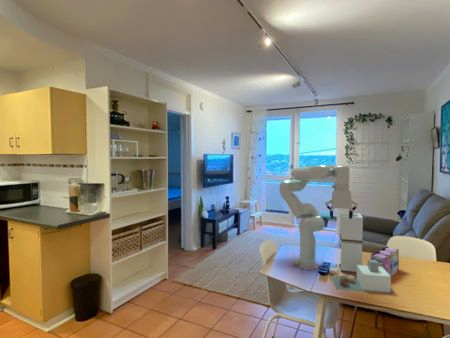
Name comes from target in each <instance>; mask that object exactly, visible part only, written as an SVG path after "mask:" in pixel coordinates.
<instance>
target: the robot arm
mask: <svg viewBox="0 0 450 338" xmlns="http://www.w3.org/2000/svg"><path fill="white" fill-rule="evenodd" d="M290 175H291V176H290V177H292V179H285V180H282V181H281V182H280V184H279V188H278V190H279V194H280V196H281V198H282V199H283V200H284V202H285V203H286V204H287V206H288V208H289V209H290V210H291V213H292V214H293V216H294V217H295V218H296V219H299V223H298V230H299V258H292V263H294V264H297V267H298V268H299V269H301V270H315V269H318V267H319V266H318V264H317V263H316V243H317V242H316V236H315V235H314V233H315V232H320V231H323V230H324V228H325V224H326V223H325V221H324V218H323V217H322V215H321V214H320V212H319V211H318V210H317V208H316V207H315V205H314V204H312V203H310V202H305V203H303V202H302V201H301V200H300V198H299V197H298V196H297V195H296V194H294V193H296V192H301V191H303V190H304V189H305V187H306V186H307V185H308V184H309V182H310V181H312V180H315V179H328V178H329V179H331V178H332V179H333V178H334V184H333V185H331V188H332V189H333V190H332V193H331V199H329V200H328V201H326V202H324V204H325V207H326V208H327V209H328V210H329V216H330V218H331V219H334V209H343V210H344V209H346V210H347V209H348V210H349V211H348V213H349V218H350V219H352V217H353V214H354V211H355V210H357V207H358V206H359V203H357V202H356V201H353V200H352V199H353V198H352V197H353V196H352V191H351V190H350V167H349V166H348V165H339V164H320V165H308V166H299V167H295V168H293V169H292V170H291V173H290ZM329 204H331V206H330V205H329ZM353 205H354V206H353ZM300 219H301V220H300Z"/></svg>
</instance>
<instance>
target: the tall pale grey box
mask: <svg viewBox="0 0 450 338" xmlns="http://www.w3.org/2000/svg"><path fill="white" fill-rule="evenodd" d="M363 221H364V217H363V216H362V214H361V213H353V217H352V219H350V218H349V212H340V213H339V241H340V245H341V246H340V263H339V264H338V267H339V270H340V272H341V273H346V274H347V273H348V274H355V275H357V265H363V234H364V233H363V229H364V227H363V225H364V223H363Z"/></svg>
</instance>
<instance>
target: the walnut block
mask: <svg viewBox="0 0 450 338" xmlns="http://www.w3.org/2000/svg"><path fill="white" fill-rule="evenodd" d="M347 276H348V275H339V277H340V278H339V283H340V285H341V286H347V287H349V278H348V277H347Z"/></svg>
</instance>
